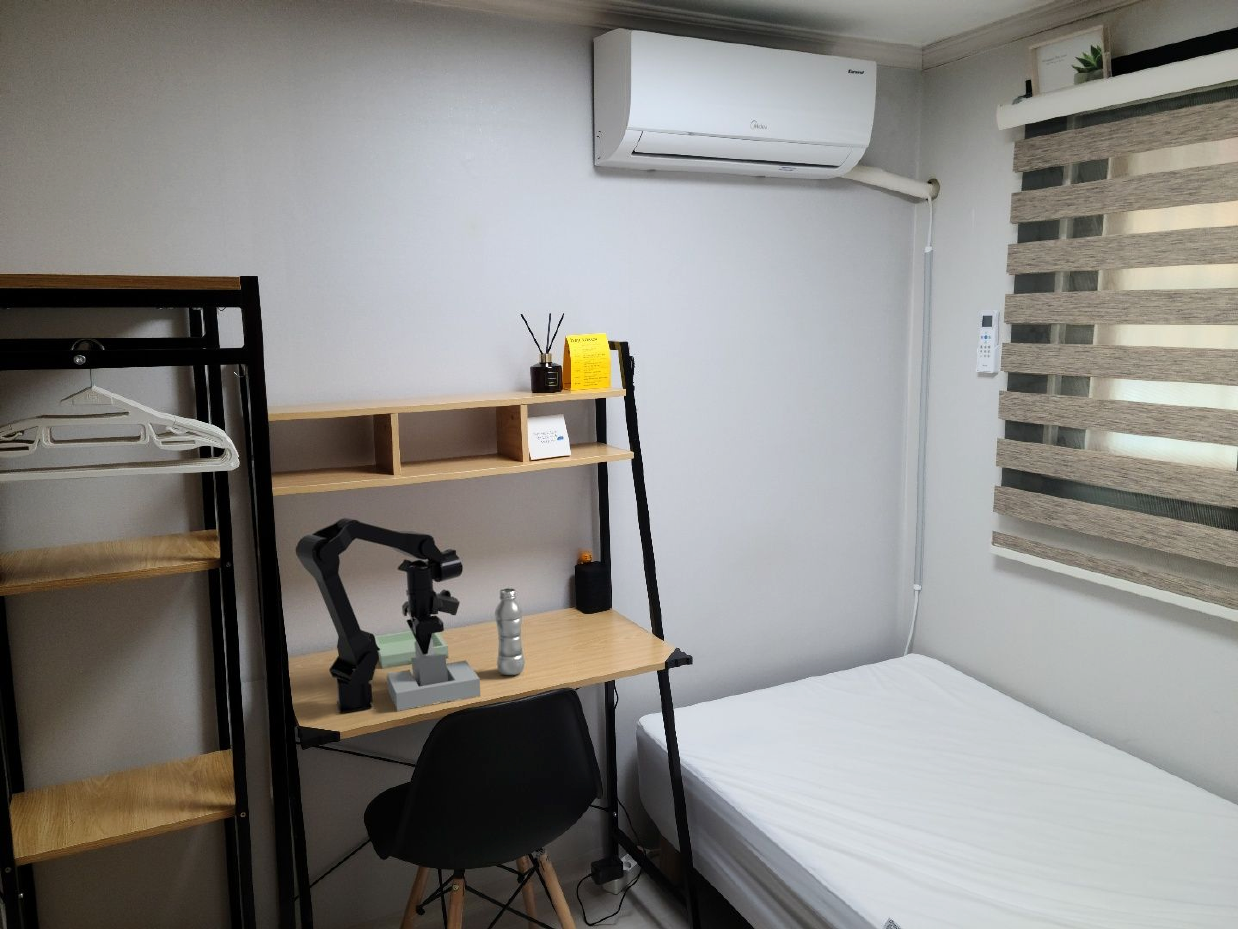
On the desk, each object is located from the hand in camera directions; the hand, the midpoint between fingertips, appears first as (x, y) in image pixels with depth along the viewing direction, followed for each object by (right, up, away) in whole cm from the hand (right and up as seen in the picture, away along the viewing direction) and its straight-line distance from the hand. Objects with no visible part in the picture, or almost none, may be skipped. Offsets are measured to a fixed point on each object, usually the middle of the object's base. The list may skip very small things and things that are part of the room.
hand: (424, 652), depth 206 cm
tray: (-8, -4, +19) cm, 21 cm away
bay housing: (+3, -8, -6) cm, 10 cm away
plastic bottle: (+20, -6, +4) cm, 21 cm away
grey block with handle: (+3, -6, -5) cm, 8 cm away
